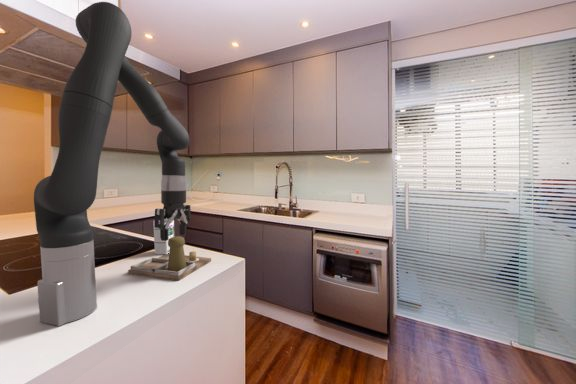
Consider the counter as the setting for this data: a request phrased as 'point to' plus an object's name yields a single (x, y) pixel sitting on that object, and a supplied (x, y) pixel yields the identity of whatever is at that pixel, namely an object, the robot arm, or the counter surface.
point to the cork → (176, 254)
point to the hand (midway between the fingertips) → (174, 237)
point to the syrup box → (160, 245)
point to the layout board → (160, 266)
